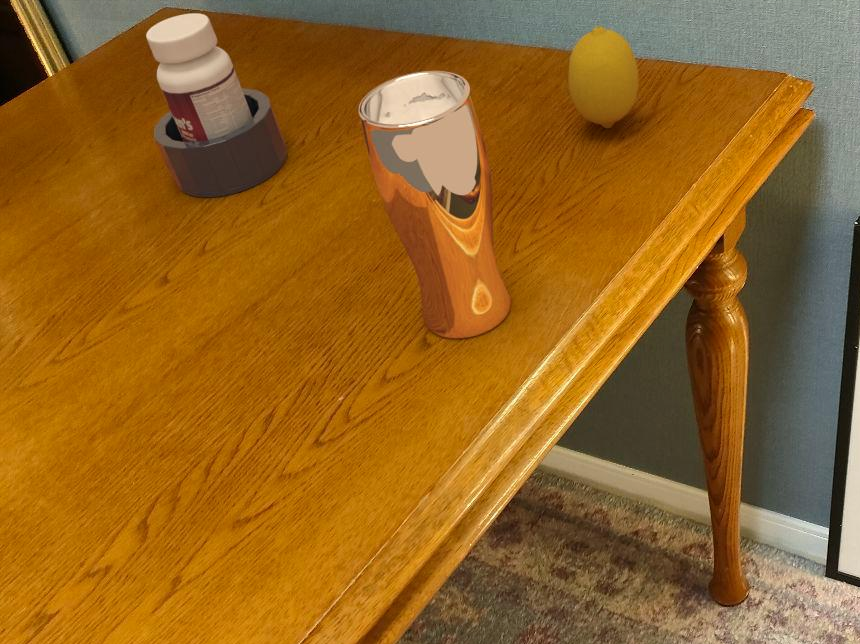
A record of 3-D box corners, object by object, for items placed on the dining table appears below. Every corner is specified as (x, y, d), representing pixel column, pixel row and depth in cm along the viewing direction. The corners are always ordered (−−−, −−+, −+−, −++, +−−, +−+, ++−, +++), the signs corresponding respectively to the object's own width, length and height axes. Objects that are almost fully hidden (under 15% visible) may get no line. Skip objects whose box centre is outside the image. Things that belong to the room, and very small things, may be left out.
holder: (153, 188, 87) (129, 139, 84) (227, 131, 92) (208, 83, 89) (236, 205, 83) (215, 154, 80) (310, 144, 88) (293, 94, 85)
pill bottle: (186, 163, 88) (127, 31, 80) (247, 134, 90) (196, 3, 82) (213, 187, 85) (154, 51, 76) (276, 156, 86) (226, 21, 78)
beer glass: (493, 349, 65) (442, 131, 54) (400, 337, 68) (332, 125, 56) (532, 286, 69) (492, 69, 58) (443, 276, 72) (388, 67, 60)
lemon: (567, 144, 81) (553, 44, 75) (585, 110, 85) (573, 12, 79) (633, 145, 80) (624, 43, 74) (649, 110, 83) (642, 10, 77)
